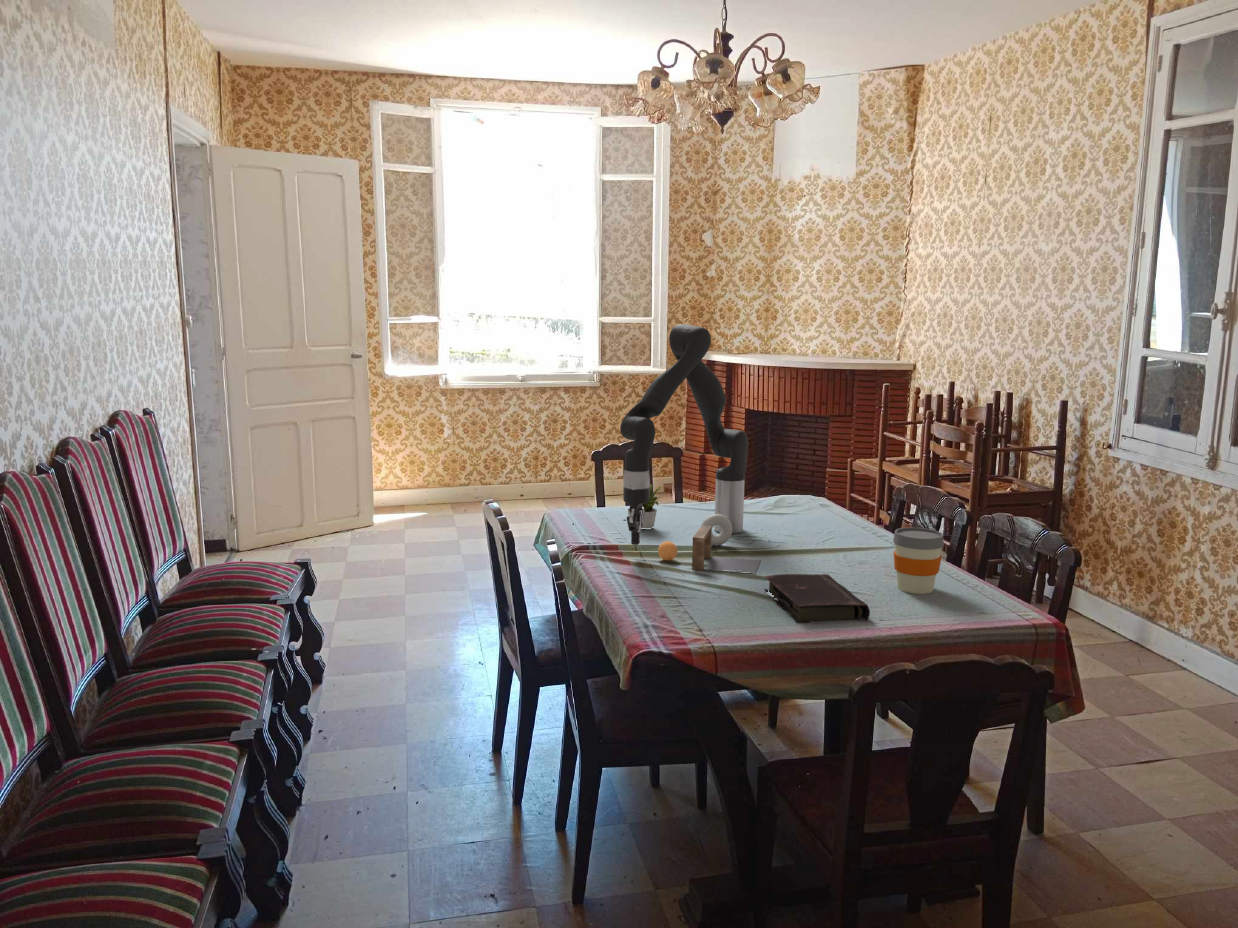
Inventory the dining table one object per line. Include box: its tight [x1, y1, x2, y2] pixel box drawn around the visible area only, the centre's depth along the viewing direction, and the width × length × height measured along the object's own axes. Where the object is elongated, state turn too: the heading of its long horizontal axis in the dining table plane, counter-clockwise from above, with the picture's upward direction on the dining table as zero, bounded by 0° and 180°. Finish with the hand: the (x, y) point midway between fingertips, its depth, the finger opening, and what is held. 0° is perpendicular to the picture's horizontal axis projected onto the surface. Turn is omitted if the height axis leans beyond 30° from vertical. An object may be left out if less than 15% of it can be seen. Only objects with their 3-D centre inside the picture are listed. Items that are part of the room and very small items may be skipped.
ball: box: [657, 541, 678, 561], centre depth 269 cm, size 6×6×6 cm
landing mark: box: [704, 555, 762, 574], centre depth 264 cm, size 14×14×1 cm
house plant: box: [642, 484, 666, 528], centre depth 305 cm, size 14×14×16 cm
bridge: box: [691, 526, 713, 571], centre depth 266 cm, size 3×14×9 cm, turn 165°
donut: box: [700, 513, 733, 546], centre depth 285 cm, size 10×4×10 cm, turn 100°
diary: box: [764, 573, 871, 624], centre depth 231 cm, size 19×25×5 cm
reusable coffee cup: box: [892, 527, 945, 595], centre depth 243 cm, size 13×13×15 cm
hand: (635, 544), depth 271 cm, fingers closed
